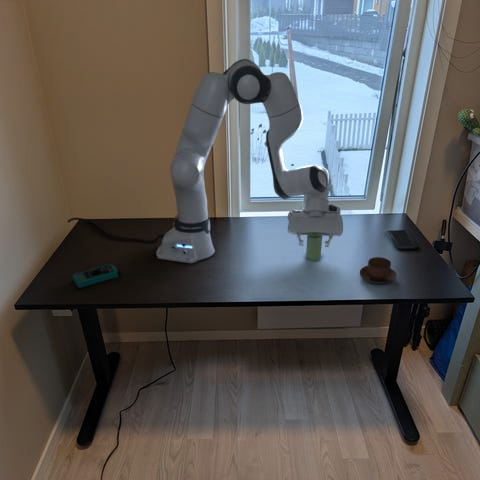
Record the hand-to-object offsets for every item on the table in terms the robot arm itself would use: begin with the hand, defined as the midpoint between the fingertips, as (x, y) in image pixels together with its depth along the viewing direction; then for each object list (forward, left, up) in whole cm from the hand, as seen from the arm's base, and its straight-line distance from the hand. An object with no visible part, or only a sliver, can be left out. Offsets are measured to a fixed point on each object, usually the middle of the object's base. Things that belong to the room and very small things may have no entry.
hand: (314, 245), depth 169 cm
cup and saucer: (+22, -13, -5) cm, 26 cm away
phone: (+34, +17, -5) cm, 38 cm away
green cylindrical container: (0, +1, -5) cm, 5 cm away
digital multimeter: (-76, -23, -5) cm, 80 cm away
